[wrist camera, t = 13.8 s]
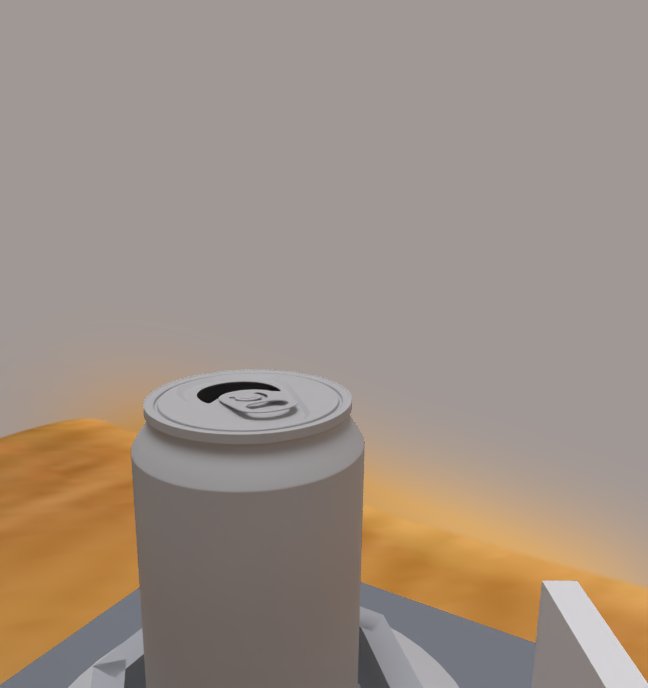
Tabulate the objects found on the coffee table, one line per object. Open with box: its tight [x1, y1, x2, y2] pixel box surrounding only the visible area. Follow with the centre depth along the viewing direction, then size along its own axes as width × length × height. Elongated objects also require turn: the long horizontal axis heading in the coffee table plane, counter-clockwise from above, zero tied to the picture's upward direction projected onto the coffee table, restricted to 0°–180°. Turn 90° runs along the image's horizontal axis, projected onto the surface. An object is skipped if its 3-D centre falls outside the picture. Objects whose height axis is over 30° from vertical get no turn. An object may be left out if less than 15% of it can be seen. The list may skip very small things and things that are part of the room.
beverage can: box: [131, 370, 365, 688], centre depth 18 cm, size 6×6×12 cm
